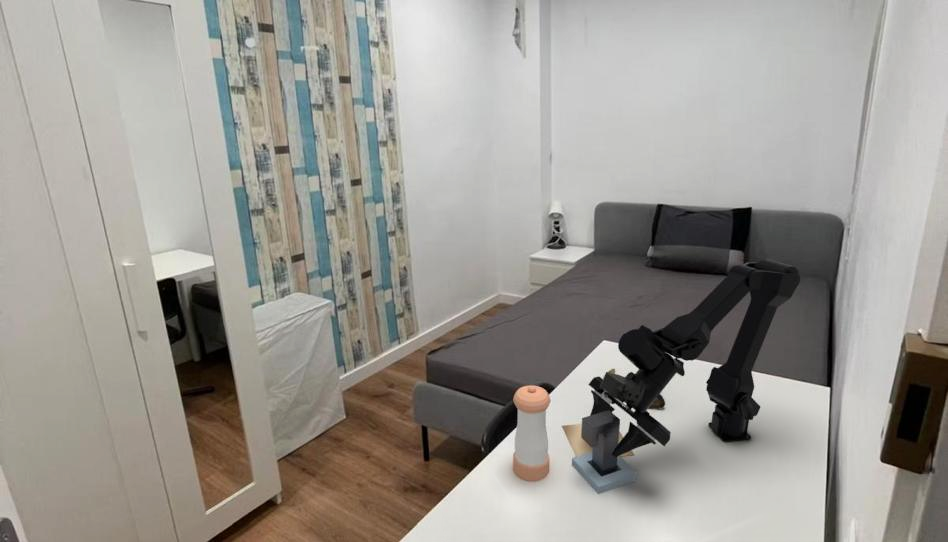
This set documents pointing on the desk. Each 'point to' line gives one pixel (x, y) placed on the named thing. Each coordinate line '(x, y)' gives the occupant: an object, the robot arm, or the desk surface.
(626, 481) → the square socket block
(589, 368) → the desk surface
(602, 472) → the grey hook block
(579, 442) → the tan metal pad
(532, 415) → the salt shaker
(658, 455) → the desk surface
